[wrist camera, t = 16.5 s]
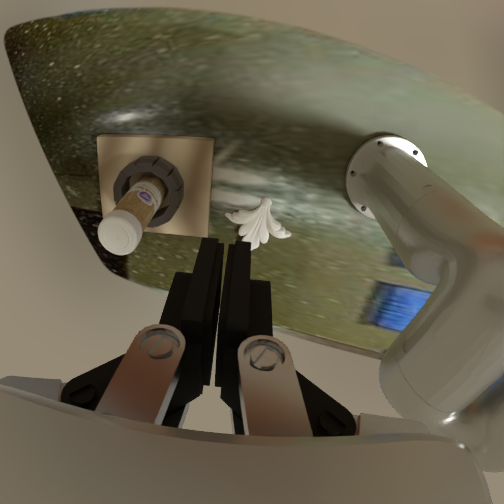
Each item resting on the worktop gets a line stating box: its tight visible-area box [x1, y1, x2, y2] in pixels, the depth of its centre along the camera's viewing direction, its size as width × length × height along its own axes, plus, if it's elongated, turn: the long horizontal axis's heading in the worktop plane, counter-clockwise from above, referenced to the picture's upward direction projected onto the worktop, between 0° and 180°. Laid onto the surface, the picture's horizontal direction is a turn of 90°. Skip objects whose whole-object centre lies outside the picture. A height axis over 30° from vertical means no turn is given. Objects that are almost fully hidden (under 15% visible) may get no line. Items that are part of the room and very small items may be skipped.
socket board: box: [97, 134, 215, 237], centre depth 41 cm, size 16×14×4 cm
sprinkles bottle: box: [98, 173, 168, 255], centre depth 36 cm, size 5×5×13 cm
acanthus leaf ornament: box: [225, 198, 291, 250], centre depth 46 cm, size 8×7×2 cm
